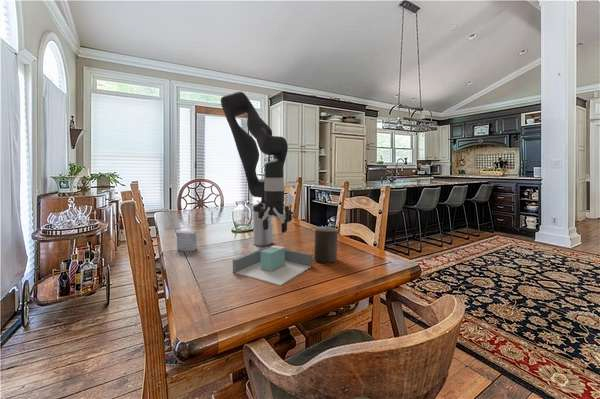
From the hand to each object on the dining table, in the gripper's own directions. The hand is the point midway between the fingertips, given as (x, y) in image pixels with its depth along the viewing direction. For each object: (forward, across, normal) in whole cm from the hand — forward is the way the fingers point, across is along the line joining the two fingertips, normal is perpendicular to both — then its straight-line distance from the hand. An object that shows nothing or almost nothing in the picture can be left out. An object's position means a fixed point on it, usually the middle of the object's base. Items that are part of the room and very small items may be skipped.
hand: (274, 230), depth 109 cm
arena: (+15, +1, -2) cm, 15 cm away
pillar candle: (+15, +13, +19) cm, 28 cm away
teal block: (+14, -1, -1) cm, 14 cm away
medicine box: (+15, -49, -3) cm, 52 cm away
